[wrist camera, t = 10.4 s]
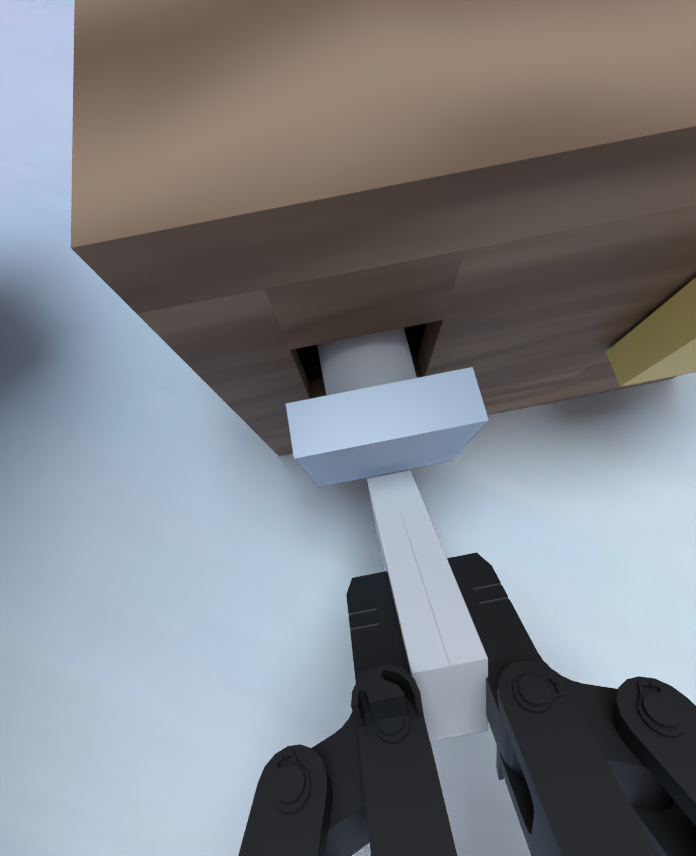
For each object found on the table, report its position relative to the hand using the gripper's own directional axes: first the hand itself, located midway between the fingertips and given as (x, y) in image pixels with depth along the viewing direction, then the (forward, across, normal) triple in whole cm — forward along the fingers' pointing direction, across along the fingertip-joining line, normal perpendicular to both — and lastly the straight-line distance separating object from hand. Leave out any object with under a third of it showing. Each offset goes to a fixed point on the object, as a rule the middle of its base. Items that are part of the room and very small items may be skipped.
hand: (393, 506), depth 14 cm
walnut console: (+12, +6, +2) cm, 13 cm away
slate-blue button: (+4, 0, +3) cm, 5 cm away
